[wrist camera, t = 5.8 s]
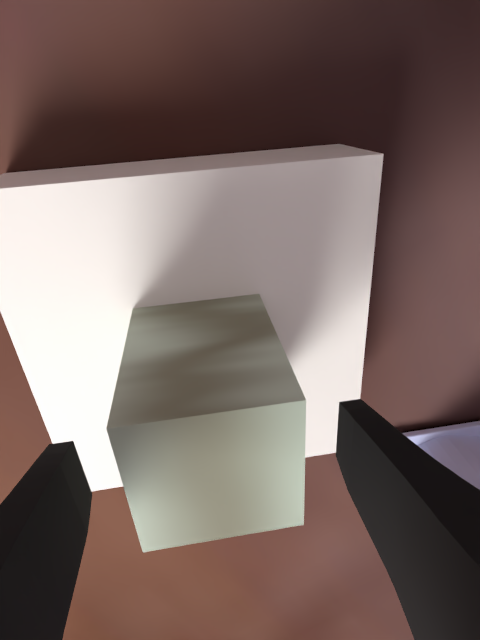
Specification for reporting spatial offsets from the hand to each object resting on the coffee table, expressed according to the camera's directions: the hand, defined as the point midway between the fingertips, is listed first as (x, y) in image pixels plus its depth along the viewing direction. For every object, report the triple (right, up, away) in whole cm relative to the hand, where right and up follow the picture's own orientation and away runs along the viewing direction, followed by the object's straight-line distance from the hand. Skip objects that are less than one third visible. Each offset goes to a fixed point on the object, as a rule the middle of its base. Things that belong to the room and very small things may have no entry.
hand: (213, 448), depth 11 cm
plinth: (-1, +4, +8) cm, 9 cm away
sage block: (-1, +2, +4) cm, 5 cm away
